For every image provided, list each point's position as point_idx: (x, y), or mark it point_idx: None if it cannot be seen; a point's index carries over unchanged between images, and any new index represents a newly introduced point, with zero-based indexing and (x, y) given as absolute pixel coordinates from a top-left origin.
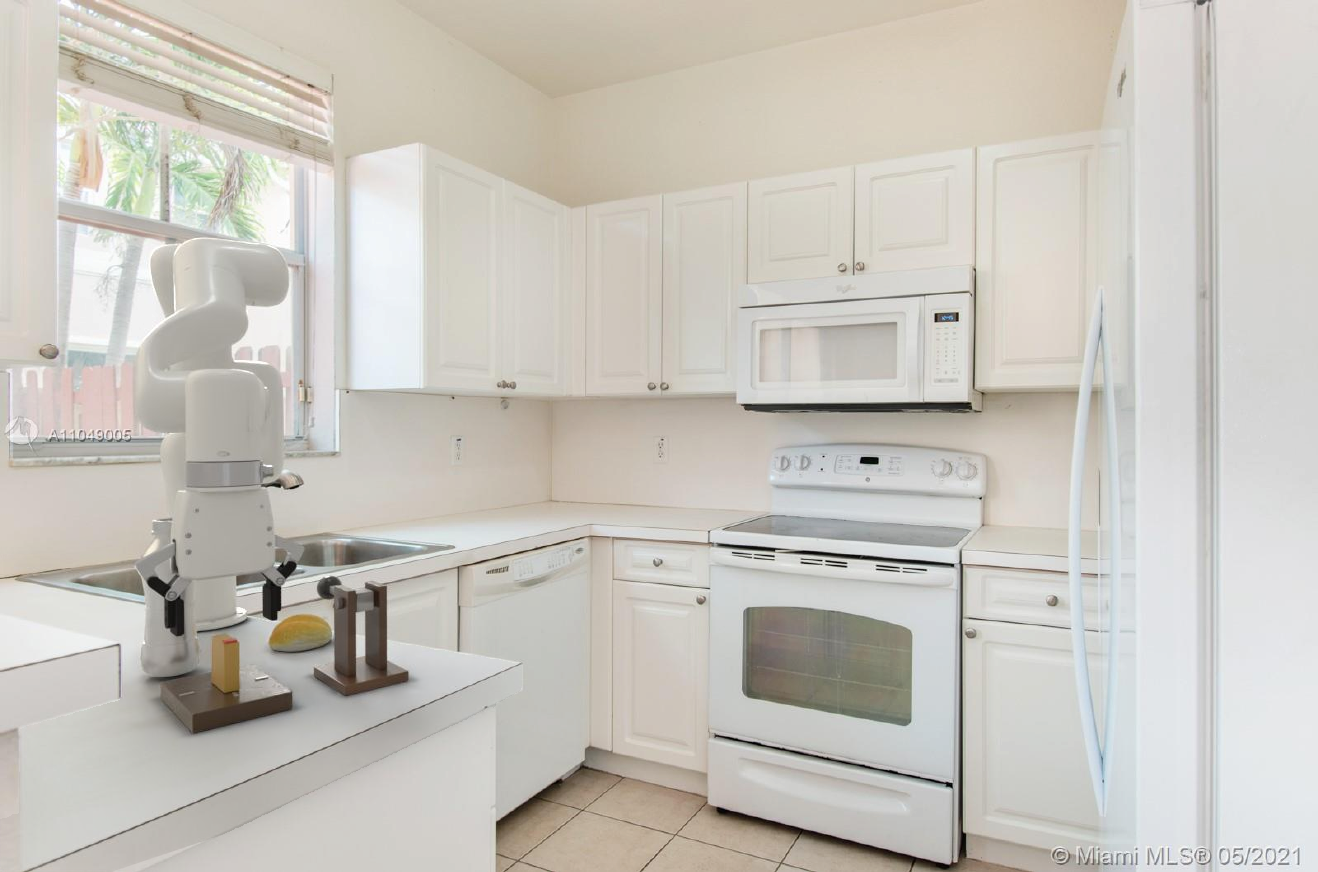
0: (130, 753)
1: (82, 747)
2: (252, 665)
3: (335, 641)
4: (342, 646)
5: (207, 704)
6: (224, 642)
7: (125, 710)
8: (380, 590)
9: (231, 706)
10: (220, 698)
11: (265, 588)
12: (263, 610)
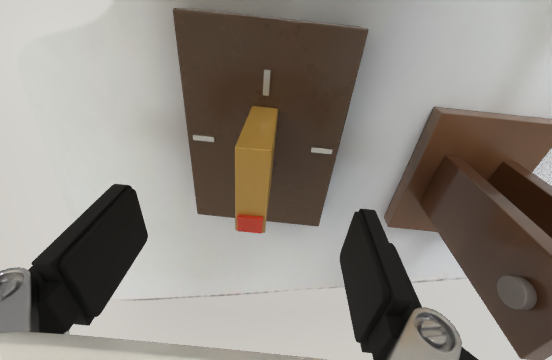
0: (144, 202)
1: (91, 150)
2: (359, 46)
3: (473, 191)
4: (452, 217)
5: (219, 197)
6: (237, 227)
7: (127, 29)
8: None
9: None
10: None
11: (370, 309)
12: (357, 227)
